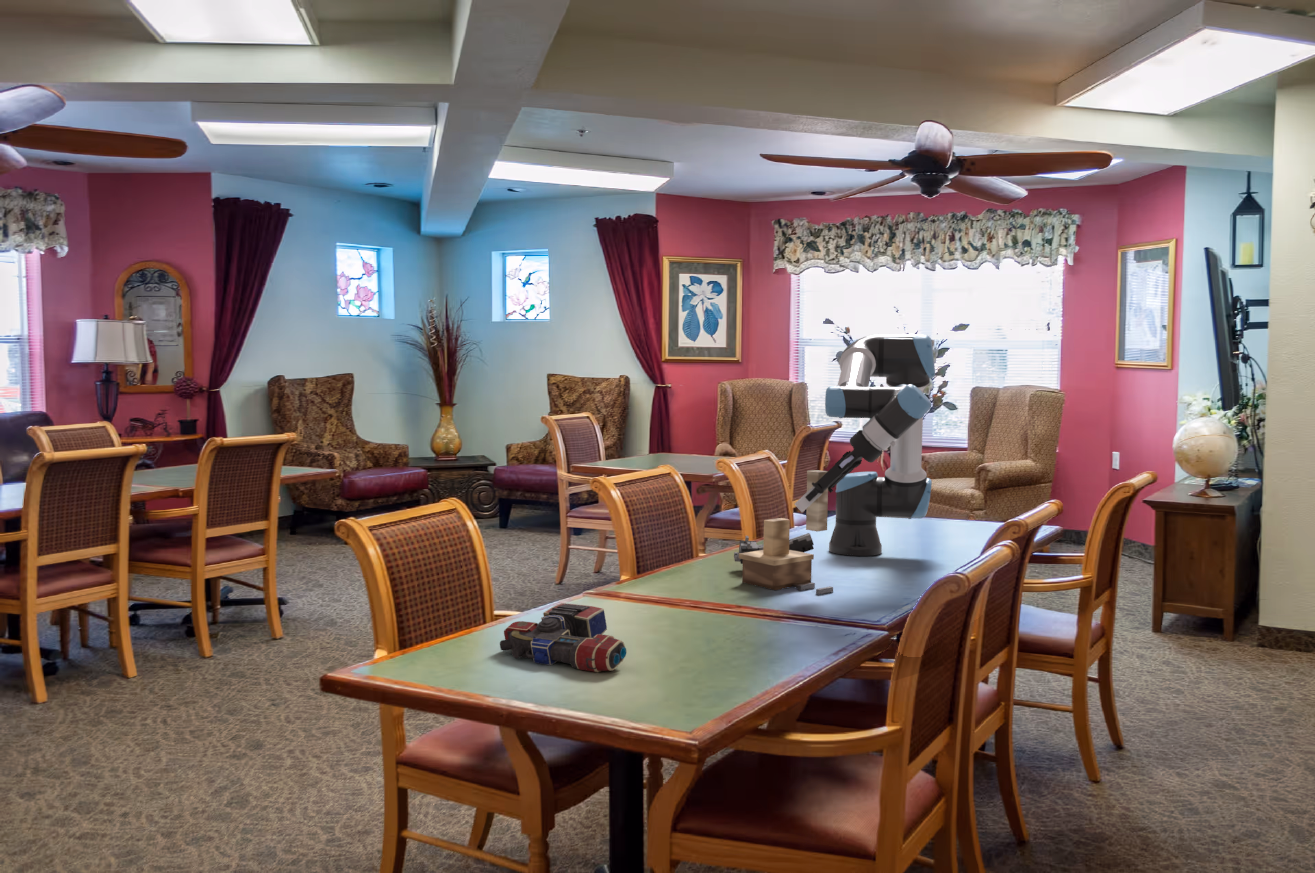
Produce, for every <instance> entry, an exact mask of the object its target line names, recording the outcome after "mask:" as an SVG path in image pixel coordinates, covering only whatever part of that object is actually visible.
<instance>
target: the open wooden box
mask: <svg viewBox="0 0 1315 873" xmlns="http://www.w3.org/2000/svg"><path fill="white" fill-rule="evenodd" d="M812 560H813V559H812ZM812 560H806V561H800V562H794V563H788V564H782V565H776V566H773V565H768V564H763V563H758V562H754V561H749V560H744V559H743V564H742V569H741V570H742V572H741V573H742V574H741V575H742V577H741V578H742V579H741V581H742V583H743V584H746V583H747V584H746V585H750V586H755V585H756V586H755V587H760V588H763V587H765V588H764V589H768V590H772V591H778V590H783V589H782V588H784V589H788V588H787V587H789V588H793V587H792V584H806V583H811V582H812V566H813V564H812V563H813V562H812Z"/></svg>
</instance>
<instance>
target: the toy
mask: <svg viewBox="0 0 1315 873" xmlns="http://www.w3.org/2000/svg"><path fill="white" fill-rule="evenodd" d="M749 537H750V536H749V535H745V538H744V540H739V543H738V544H739V547H738V548H739V549H738V551H737V552H733V560H734V562H735V563H736V562H739V563H740V564H741V565H743V559H739V553H746V552H753V551H759V550H763V547H764V543H763V544H757V541H756V540H749ZM814 548H815V547H814V541H813V538H812V536H811V533H810V532H807V533H804V534H801V535H799V536H796V537H793V538H789V550H793V551H798V552H803V553H808V552H809V551H812V550H814Z"/></svg>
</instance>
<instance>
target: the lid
mask: <svg viewBox="0 0 1315 873" xmlns="http://www.w3.org/2000/svg"><path fill="white" fill-rule="evenodd" d="M790 521H791V520H790V519H788V518H784V517H783V518H782V517H780V518H779V517H777V518H771V519H764V520H763V544H764V547H763V550H759V551H753V552H746V553H739V559H744V560H749V561H754V562H758V563H763V564H768V565H773V566H776V565H782V564H788V563H794V562H800V561H806V560H814V558H815V557H814V556H815V555H814V554H813V553H808V552H804V553H803V552H798V551H793V550H789V540H790V530H791V529H790V526H791V522H790Z"/></svg>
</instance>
